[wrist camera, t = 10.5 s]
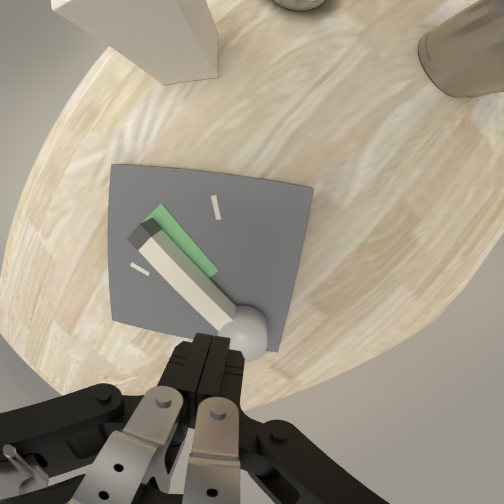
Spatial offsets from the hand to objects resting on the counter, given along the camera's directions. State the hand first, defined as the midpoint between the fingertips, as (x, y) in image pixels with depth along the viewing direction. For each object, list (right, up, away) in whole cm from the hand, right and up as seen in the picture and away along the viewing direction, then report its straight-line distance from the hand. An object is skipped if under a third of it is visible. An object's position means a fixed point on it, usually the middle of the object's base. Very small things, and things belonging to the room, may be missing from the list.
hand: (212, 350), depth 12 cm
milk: (-5, +25, +12) cm, 28 cm away
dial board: (-4, +4, +18) cm, 19 cm away
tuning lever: (-3, +1, +17) cm, 17 cm away
